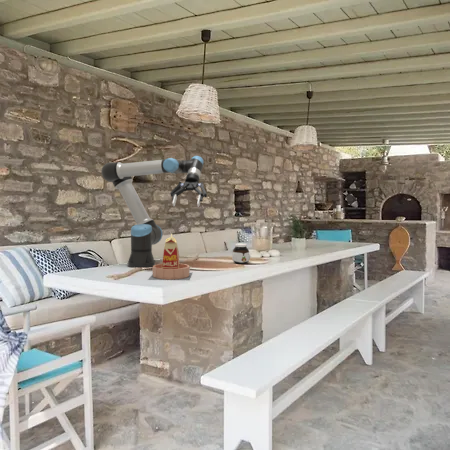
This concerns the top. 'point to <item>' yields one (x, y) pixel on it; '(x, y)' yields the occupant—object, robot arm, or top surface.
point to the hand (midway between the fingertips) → (185, 205)
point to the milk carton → (171, 254)
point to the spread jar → (240, 254)
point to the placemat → (175, 279)
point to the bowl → (171, 272)
